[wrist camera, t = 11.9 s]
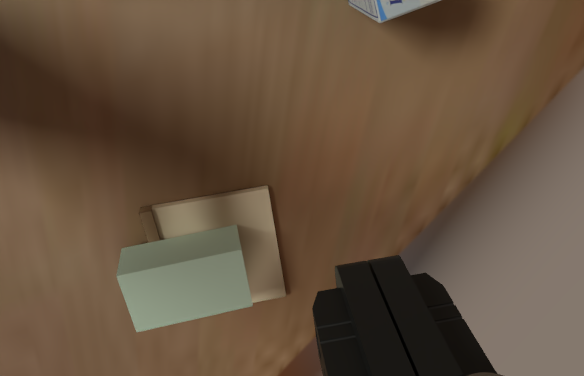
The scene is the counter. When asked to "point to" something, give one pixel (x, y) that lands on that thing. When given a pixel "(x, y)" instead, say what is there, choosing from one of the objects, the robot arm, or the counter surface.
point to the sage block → (184, 278)
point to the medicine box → (388, 7)
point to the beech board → (221, 213)
